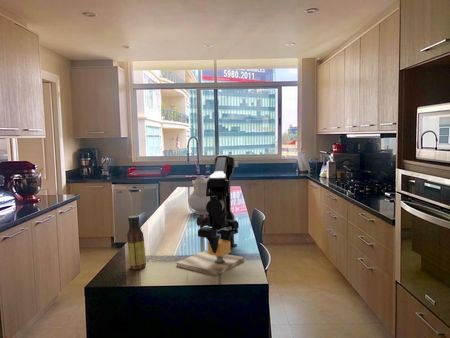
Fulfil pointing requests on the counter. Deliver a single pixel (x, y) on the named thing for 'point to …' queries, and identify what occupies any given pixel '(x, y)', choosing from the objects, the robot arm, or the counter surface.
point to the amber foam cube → (220, 248)
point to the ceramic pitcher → (199, 196)
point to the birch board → (210, 263)
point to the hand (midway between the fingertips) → (219, 250)
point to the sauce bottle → (135, 244)
